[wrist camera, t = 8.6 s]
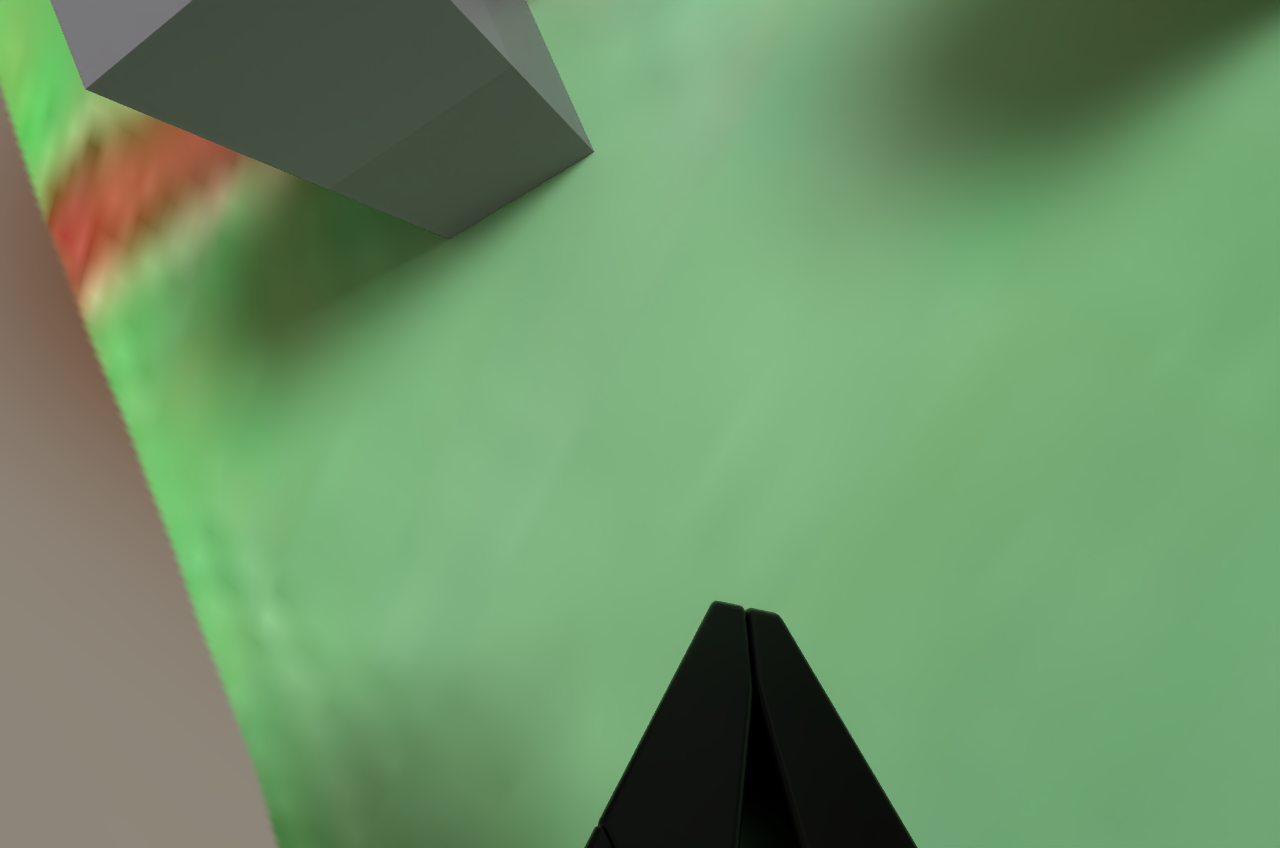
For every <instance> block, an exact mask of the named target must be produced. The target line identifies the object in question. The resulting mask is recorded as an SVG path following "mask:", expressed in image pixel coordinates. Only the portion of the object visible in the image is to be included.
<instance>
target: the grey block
mask: <svg viewBox="0 0 1280 848" xmlns="http://www.w3.org/2000/svg"><path fill="white" fill-rule="evenodd" d="M50 1H51V3H52V6H53V8H54V11H55V13H56V16H57V18H58V21H59V23H60V26H61V29H62V31H63V34H64V36H65V39H66V41H67V44H68V46H69V49H70V52H71V54H72V57H73V59H74V62H75V64H76V67H77V69H78V72H79V74H80V77H81V80H82V82H83V85H84V87H85V89H86V90H88V91H91V92H93V93H96V94H98V95H100V96H103V97H105V98H108V99H110V100H113V101H115V102H117V103H120V104H122V105H125V106H127V107H130V108H132V109H134V110H137V111H139V112H142V113H144V114H147V115H149V116H151V117H154V118H156V119H159V120H161V121H163V122H166V123H168V124H171V125H173V126H176V127H178V128H180V129H183V130H185V131H188V132H190V133H193V134H195V135H197V136H200V137H202V138H205V139H207V140H210V141H212V142H214V143H217V144H219V145H222V146H224V147H226V148H229V149H231V150H234V151H236V152H239V153H241V154H243V155H246V156H248V157H251V158H253V159H256V160H258V161H260V162H263V163H265V164H268V165H270V166H273V167H275V168H277V169H280V170H282V171H285V172H287V173H289V174H292V175H294V176H297V177H299V178H302V179H304V180H306V181H309V182H311V183H314V184H316V185H319V186H321V187H323V188H326V189H328V190H331V191H333V192H336V193H338V194H340V195H343V196H345V197H348V198H350V199H352V200H355V201H357V202H360V203H362V204H365V205H367V206H369V207H372V208H374V209H377V210H379V211H382V212H384V213H386V214H389V215H391V216H394V217H396V218H398V219H401V220H403V221H406V222H408V223H411V224H413V225H415V226H418V227H420V228H423V229H425V230H428V231H430V232H432V233H435V234H437V235H440V236H442V237H445V238H447V239H450V238H452V237H454V236H455V235H457V234H459V233H460V232H462V231H464V230H465V229H467V228H469V227H470V226H472V225H474V224H475V223H477V222H479V221H480V220H482V219H484V218H485V217H487V216H488V215H490V214H492V213H493V212H495V211H497V210H498V209H500V208H502V207H503V206H505V205H507V204H508V203H510V202H512V201H513V200H515V199H517V198H518V197H520V196H522V195H523V194H525V193H527V192H528V191H530V190H532V189H533V188H535V187H537V186H538V185H540V184H541V183H543V182H545V181H546V180H548V179H550V178H551V177H553V176H555V175H556V174H558V173H560V172H561V171H563V170H565V169H566V168H568V167H570V166H571V165H573V164H575V163H576V162H578V161H580V160H581V159H583V158H585V157H586V156H588V155H590V154H591V153H593V152H594V150H593V148H592V146H591V144H590V142H589V139H588V137H587V135H586V133H585V131H584V128H583V126H582V124H581V122H580V119H579V117H578V115H577V113H576V111H575V108H574V106H573V104H572V102H571V100H570V97H569V95H568V93H567V91H566V88H565V86H564V84H563V82H562V80H561V77H560V75H559V73H558V71H557V69H556V66H555V64H554V62H553V60H552V58H551V55H550V53H549V51H548V49H547V46H546V44H545V42H544V40H543V38H542V35H541V33H540V31H539V29H538V27H537V24H536V22H535V20H534V18H533V15H532V13H531V11H530V9H529V7H528V4H527V2H526V0H50Z"/></svg>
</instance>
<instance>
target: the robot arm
mask: <svg viewBox="0 0 1280 848" xmlns="http://www.w3.org/2000/svg"><path fill="white" fill-rule="evenodd" d="M584 848H917V846H916V844H915V843H914V841H913V839H912V837H911V836H910V834H909V832H908V831H907V829H906V827H905V826H904V824H903V822H902V821H901V819H900V817H899V816H898V814H897V812H896V810H895V809H894V807H893V805H892V804H891V802H890V800H889V799H888V797H887V795H886V794H885V792H884V790H883V789H882V787H881V785H880V783H879V782H878V780H877V778H876V777H875V775H874V773H873V772H872V770H871V768H870V767H869V765H868V763H867V762H866V760H865V758H864V756H863V755H862V753H861V751H860V750H859V748H858V746H857V745H856V743H855V741H854V740H853V738H852V736H851V735H850V733H849V731H848V729H847V728H846V726H845V724H844V723H843V721H842V719H841V718H840V716H839V714H838V713H837V711H836V709H835V708H834V706H833V704H832V702H831V701H830V699H829V697H828V696H827V694H826V692H825V691H824V689H823V687H822V686H821V684H820V682H819V681H818V679H817V677H816V675H815V674H814V672H813V670H812V669H811V667H810V665H809V664H808V662H807V660H806V659H805V657H804V655H803V654H802V652H801V650H800V648H799V647H798V645H797V643H796V642H795V640H794V638H793V637H792V635H791V633H790V632H789V630H788V628H787V626H786V625H785V623H784V621H783V620H782V618H781V617H780V616H779V615H778V614H776V613H773V612H768V611H764V610H759V609H754V608H749V609H746V611H745V610H744V608H743V607H742V606H740V605H735V604H730V603H726V602H721V601H714V602H713V603H712V604H711V605H710V607H709V609H708V611H707V613H706V615H705V617H704V619H703V621H702V622H701V624H700V626H699V628H698V630H697V632H696V634H695V636H694V638H693V640H692V642H691V644H690V646H689V648H688V650H687V651H686V653H685V655H684V657H683V659H682V661H681V663H680V665H679V667H678V669H677V671H676V673H675V675H674V677H673V678H672V680H671V682H670V684H669V686H668V688H667V690H666V692H665V694H664V696H663V698H662V700H661V702H660V704H659V706H658V707H657V709H656V711H655V713H654V715H653V717H652V719H651V721H650V723H649V725H648V727H647V729H646V731H645V733H644V734H643V736H642V738H641V740H640V742H639V744H638V746H637V748H636V750H635V752H634V754H633V756H632V758H631V760H630V761H629V763H628V765H627V767H626V769H625V771H624V773H623V775H622V777H621V779H620V781H619V783H618V785H617V787H616V789H615V790H614V792H613V794H612V796H611V798H610V800H609V802H608V804H607V806H606V808H605V810H604V812H603V814H602V816H601V817H600V819H599V823H598V826H596V827H595V828H594V830H593V832H592V834H591V836H590V838H589V840H588V842H587V844H586V846H585V847H584Z"/></svg>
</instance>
